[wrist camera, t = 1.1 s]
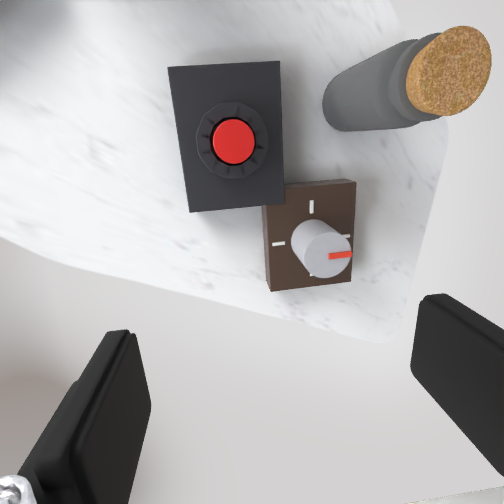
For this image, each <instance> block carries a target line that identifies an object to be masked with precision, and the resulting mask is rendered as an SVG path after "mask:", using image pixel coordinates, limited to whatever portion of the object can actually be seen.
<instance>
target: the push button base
mask: <svg viewBox="0 0 504 504" xmlns="http://www.w3.org/2000/svg"><path fill="white" fill-rule="evenodd" d="M167 68H168V75H169V81H170V88H171V95H172V101H173V108H174V114H175V121H176V127H177V134H178V140H179V147H180V154H181V160H182V167H183V173H184V180H185V186H186V193H187V199H188V206H189V212H190V213H192V212H202V211H212V210H222V209H232V208H242V207H252V206H262V205H272V204H282V203H284V174H283V143H282V113H281V82H280V61H268V62H249V63H231V64H212V65H194V66H175V67H167ZM231 119H236V120H240V121H242V122H244V123H246V124H247V125H248V126H249V127H250V129H251V130H252V132H253V135H254V149H253V151H252V153H251V155H250V156H249V157H248V158H247V159H246V160H245V161H243V162H241V163H236V164H232V163H228V162H225V161H224V160H222V159H221V158H220V157H219V156H218V155H217V153H216V151H215V149H214V146H213V136H214V133H215V131H216V129H217V127H218V126H219V125H220V124H221V123H223V122H225V121H227V120H231Z"/></svg>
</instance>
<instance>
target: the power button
mask: <svg viewBox="0 0 504 504" xmlns="http://www.w3.org/2000/svg"><path fill="white" fill-rule="evenodd" d="M213 146H214V149H215V151H216V153H217V155H218V156H219V157H220V158H221V159H222V160H224V161H225V162H228V163H232V164H236V163H241V162H243V161H245V160H246V159H247V158H248V157H249V156H250V155H251V153H252V151H253V149H254V135H253V132H252V130H251V129H250V127H249V126H248V125H247V124H246V123H244V122H242V121H240V120H236V119H231V120H227V121H225V122H223V123H221V124H220V125H219V126H218V127H217V129H216V131H215V133H214V136H213Z"/></svg>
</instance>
